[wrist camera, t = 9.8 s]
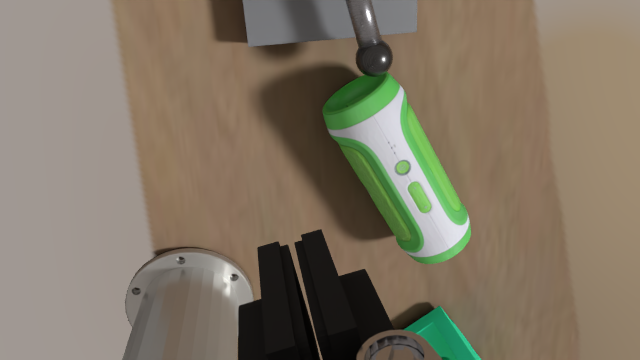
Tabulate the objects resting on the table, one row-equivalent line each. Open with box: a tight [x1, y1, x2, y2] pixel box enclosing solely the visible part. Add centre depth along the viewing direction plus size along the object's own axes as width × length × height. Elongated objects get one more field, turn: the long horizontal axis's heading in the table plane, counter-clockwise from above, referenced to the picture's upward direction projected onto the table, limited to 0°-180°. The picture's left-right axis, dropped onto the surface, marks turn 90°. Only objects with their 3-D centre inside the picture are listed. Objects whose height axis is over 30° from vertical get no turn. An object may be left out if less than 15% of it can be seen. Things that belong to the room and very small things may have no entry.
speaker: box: [323, 72, 471, 264], centre depth 43 cm, size 18×7×8 cm, turn 31°
